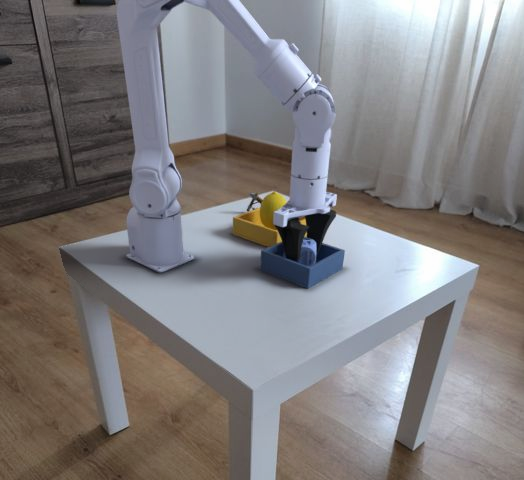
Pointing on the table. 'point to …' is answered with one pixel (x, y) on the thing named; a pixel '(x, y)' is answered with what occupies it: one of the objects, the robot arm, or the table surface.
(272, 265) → the blue bin
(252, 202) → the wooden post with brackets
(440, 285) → the table surface
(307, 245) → the light blue short cylinder
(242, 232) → the yellow bin
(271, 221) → the lemon
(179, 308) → the table surface
